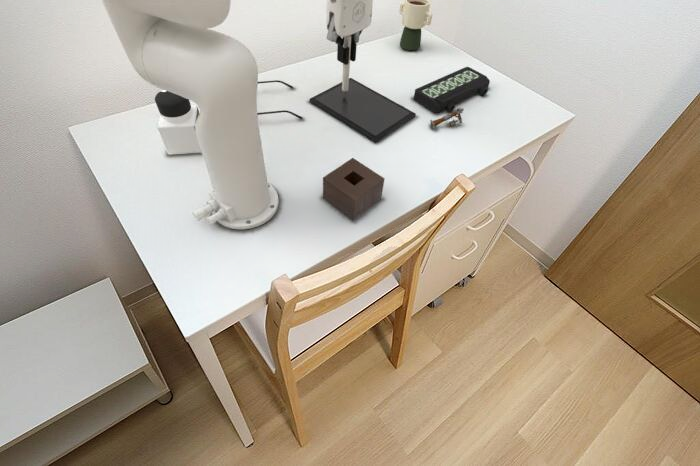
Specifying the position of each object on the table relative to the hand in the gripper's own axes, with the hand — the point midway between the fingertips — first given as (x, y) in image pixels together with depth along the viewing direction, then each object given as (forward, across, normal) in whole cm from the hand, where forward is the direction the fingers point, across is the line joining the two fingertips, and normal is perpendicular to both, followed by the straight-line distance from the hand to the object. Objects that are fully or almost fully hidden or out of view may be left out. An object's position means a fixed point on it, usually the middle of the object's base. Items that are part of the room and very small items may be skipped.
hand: (346, 60), depth 89 cm
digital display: (+10, +23, -18) cm, 31 cm away
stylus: (+9, 0, 0) cm, 9 cm away
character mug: (+10, +35, +6) cm, 37 cm away
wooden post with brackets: (+10, +10, -24) cm, 28 cm away
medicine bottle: (+10, -38, +11) cm, 41 cm away
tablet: (+10, 0, -6) cm, 12 cm away
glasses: (+10, -17, +11) cm, 23 cm away
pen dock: (+10, -24, -25) cm, 36 cm away
